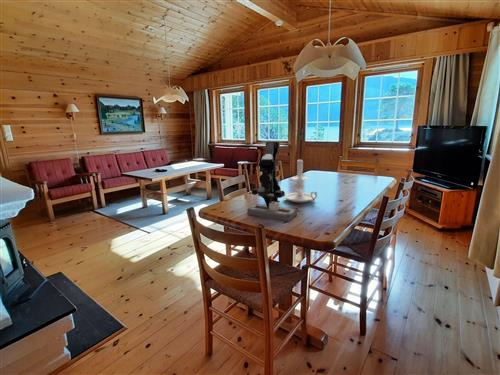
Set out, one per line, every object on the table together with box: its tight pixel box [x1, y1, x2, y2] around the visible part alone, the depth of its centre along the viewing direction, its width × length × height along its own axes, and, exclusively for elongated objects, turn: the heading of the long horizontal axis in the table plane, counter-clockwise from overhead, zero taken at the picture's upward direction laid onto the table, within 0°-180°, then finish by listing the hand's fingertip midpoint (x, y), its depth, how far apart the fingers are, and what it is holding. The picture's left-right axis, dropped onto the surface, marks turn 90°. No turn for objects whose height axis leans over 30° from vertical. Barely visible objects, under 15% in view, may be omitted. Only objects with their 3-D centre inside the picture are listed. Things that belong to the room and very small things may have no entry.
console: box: [246, 203, 298, 222], centre depth 154 cm, size 12×26×3 cm, turn 58°
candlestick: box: [283, 159, 319, 203], centre depth 175 cm, size 21×25×28 cm
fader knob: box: [269, 202, 280, 211], centre depth 153 cm, size 4×4×5 cm
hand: (268, 207), depth 155 cm, fingers closed
